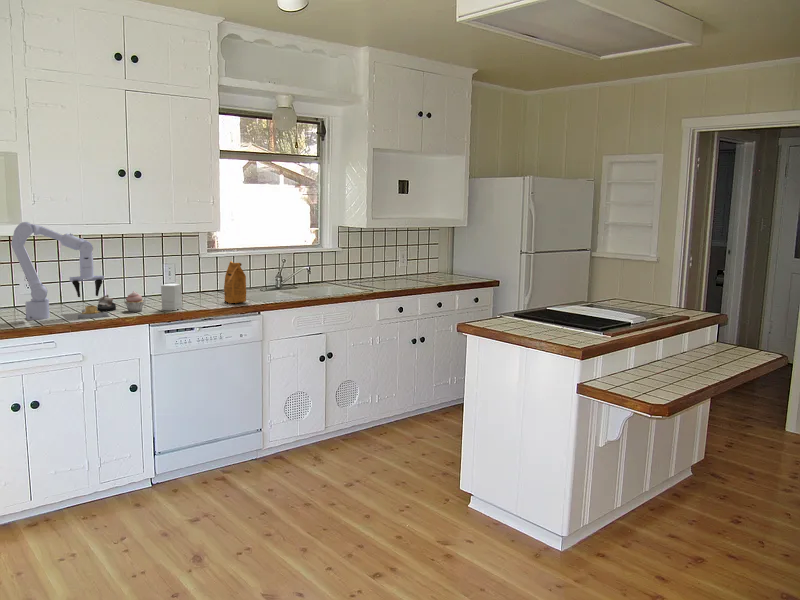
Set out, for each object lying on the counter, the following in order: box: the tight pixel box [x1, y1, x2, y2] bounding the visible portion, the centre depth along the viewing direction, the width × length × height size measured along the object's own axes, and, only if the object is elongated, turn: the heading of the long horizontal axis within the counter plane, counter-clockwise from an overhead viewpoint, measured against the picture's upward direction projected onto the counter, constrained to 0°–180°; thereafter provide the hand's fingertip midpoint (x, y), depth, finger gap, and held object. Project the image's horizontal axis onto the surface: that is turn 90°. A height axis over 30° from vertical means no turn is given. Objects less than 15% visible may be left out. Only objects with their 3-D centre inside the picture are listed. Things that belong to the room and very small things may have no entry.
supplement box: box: [160, 283, 183, 311], centre depth 340 cm, size 7×7×13 cm
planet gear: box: [81, 305, 101, 314], centre depth 313 cm, size 7×7×4 cm
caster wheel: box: [96, 294, 117, 312], centre depth 331 cm, size 7×11×10 cm
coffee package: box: [223, 260, 247, 304], centre depth 366 cm, size 10×12×22 cm
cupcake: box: [124, 290, 145, 313], centre depth 334 cm, size 9×9×10 cm
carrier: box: [61, 308, 111, 321], centre depth 314 cm, size 18×17×4 cm
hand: (88, 296), depth 313 cm, fingers open, 7 cm apart
